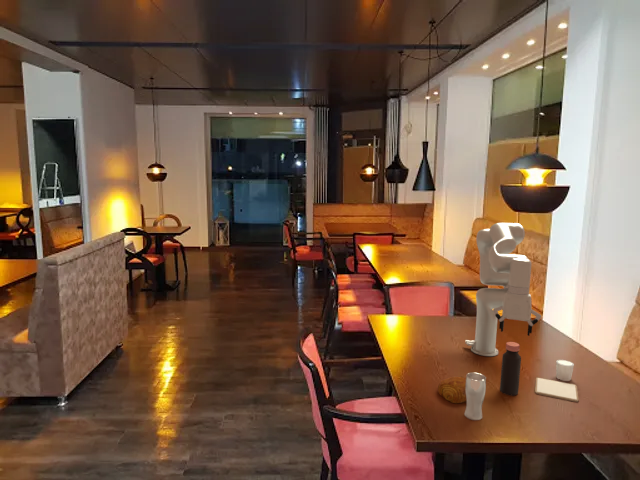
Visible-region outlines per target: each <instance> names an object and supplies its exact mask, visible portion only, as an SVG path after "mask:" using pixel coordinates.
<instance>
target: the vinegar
mask: <svg viewBox="0 0 640 480" xmlns="http://www.w3.org/2000/svg"><path fill="white" fill-rule="evenodd" d="M520 345H521V344H519V343H517V342H514V341H507V342H506V343H505V352H504V353H503V354H502V356H501V357H502V360H501V373H500V382H499V383H500V384H499V391H500V392H501V393H502V394H504V395H506V396H509V397H511V396H512V397H513V396H517V395H518V394H519V389H520V388H519V387H520V377H521V374H520V373H521V364H522V357H521V355H520V354H519V352H520Z"/></svg>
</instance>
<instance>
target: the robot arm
mask: <svg viewBox="0 0 640 480" xmlns="http://www.w3.org/2000/svg"><path fill="white" fill-rule="evenodd" d="M525 232H526V231H525V228H524V227H523V225H521V223H517V222H514V223H513V222H497V223H494V224H492V225H491V226H490V228H484V229H479V230H478V232H477V233H476V246H477V250H478V252H479V253H478V254H479V280H480V283H481V284H483V285H485V286H498V287H499V286H501V287H503V288H496V287H494V288H493V287H483V288H480V289H478V290H477V291H476V294H475V301H476V318H475V319H476V320H475V321H476V322H475V336H474V340H469V339H465V345H466V346H470V351H471V352H472V353H474V354H476V355H477V356H484V357H495V356H498V355H499V350H498V348H496V346H497V345H496V342H497V332H498V331H497V329H500V332H502V333H503V332H504V324H505V319H507V320H514V321H522V322H526V323H527V324H528V325H527V333H526V334H527V336H528V337H529V336H530V334H532V333H533V332H532V331H533V326H534V325H536V324H538V323H539V321H540V320H541V318H542V315H541V313H538V312H537V311H536V310H534V309H532V296H531V294H530V288H531V287H530V284H531V274H532V261H531V260H530V259H529V258H528V256H526V255H524V254H512V252H514V251H515V250H516V248H517V246H518V245H519V244H521V243H522V242H523V241H524V239H525V237H526V236H525V235H526V234H525ZM499 311H500V312H501V311H502V313H501V314H502V315H501V314H500V313H499ZM532 315H533V316H535V318H534V319H532ZM498 322H499V326H498Z"/></svg>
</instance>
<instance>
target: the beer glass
mask: <svg viewBox="0 0 640 480" xmlns="http://www.w3.org/2000/svg"><path fill="white" fill-rule="evenodd" d="M465 378H466V383H465V395H466V401H465V405H466V406H465V411H464V416H465V418H467V419H468V420H470V421H471V420H472V421H480V420H481V419H483V410H482V409H483V404H484V401H485V396H486V392H487V391H486V390H487V389H486V388H487V381H486V380H487V377H486V375H484V374H482V373H479V372H468V373H466V377H465Z"/></svg>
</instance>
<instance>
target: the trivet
mask: <svg viewBox="0 0 640 480" xmlns="http://www.w3.org/2000/svg"><path fill="white" fill-rule="evenodd" d="M534 389H535V390H534V393H535V394H536V395H540V396H544V397H549V398H555V399H559V400H564V401H568V402H574V403H579V393H578V386H577V385H576V384H574V383H569V382H565V381H557V380H552V379H548V378H542V377H537V376H536V378H535V388H534Z"/></svg>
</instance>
